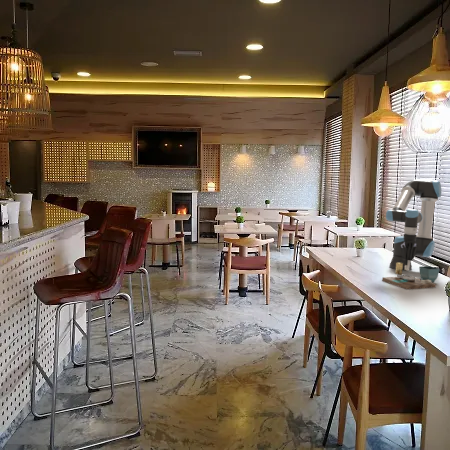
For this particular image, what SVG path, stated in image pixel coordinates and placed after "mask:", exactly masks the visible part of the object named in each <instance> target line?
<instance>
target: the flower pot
mask: <svg viewBox="0 0 450 450" xmlns="http://www.w3.org/2000/svg"><path fill="white" fill-rule="evenodd" d="M418 269H419V276H420V278H421V280H431V283H434V282H435V281H436V280H437V279H438V277H439V273H440V268H438V267H434V266H431V265H430V266H429V265H425V266H423V265H422V266H419V268H418Z"/></svg>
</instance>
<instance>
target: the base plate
mask: <svg viewBox="0 0 450 450" xmlns="http://www.w3.org/2000/svg"><path fill="white" fill-rule="evenodd" d="M381 281H383V282H385V283H388V284H392V285H394V286H396V287H400V288H402V289H405V290H416V289H417V290H418V289H431V288H432V289H433V288H436V287H437V284H436V283H434V282H431V280H422V279H420V278H418V277H415V281H414V282H409V281H404V280H403V278H400V277H397V276H388V277H386V276H385V277H382V279H381Z"/></svg>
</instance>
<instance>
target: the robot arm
mask: <svg viewBox="0 0 450 450" xmlns="http://www.w3.org/2000/svg"><path fill="white" fill-rule="evenodd" d="M441 196H442V184H441V182H440V181H439V180H436V179H413V180H410V181H409V182H407V183H406V184H404V185H403V187H402V189H401V190H400V195H399V196H398V199H397V201H396V202H395V204H394V206H393V208H392V209H388V210H386V214H385V219H386V220H387V221H388V222H396V223H404V229H403V230H404V231H403V233H404V234H403V235H401V236H400V235H399V236H396V237H395V238H394V242H393V251H392V252H393V253H392V254H393V255H392V258H391V261H390V263H389V268H392V269H393V270H394V269H395V270H396V263H403V269H402V271H410V270H412V268H413V265H412V261H413V260H414V258H415V257H416V256H417V257H423V258H430V257H431V256H432V255H433V253H434V249H435V247H436V246H435V245H436V242H435V241H434V239H433V236H432V229H433V221H434V216H435V215H434V212H435V208H436V206H435V205H436V202H437V201H439V198H441ZM414 197H419V199H420V200H421V207H420V211H419V210H417V209H413V208H411V209H410V208H409V209H407V207H408V205H409V204H410V202H411V200H412V199H413V198H414Z"/></svg>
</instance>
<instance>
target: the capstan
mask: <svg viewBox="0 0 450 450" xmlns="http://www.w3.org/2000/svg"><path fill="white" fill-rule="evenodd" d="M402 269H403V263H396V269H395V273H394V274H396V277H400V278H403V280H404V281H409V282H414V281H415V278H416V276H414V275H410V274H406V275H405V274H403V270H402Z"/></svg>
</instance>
